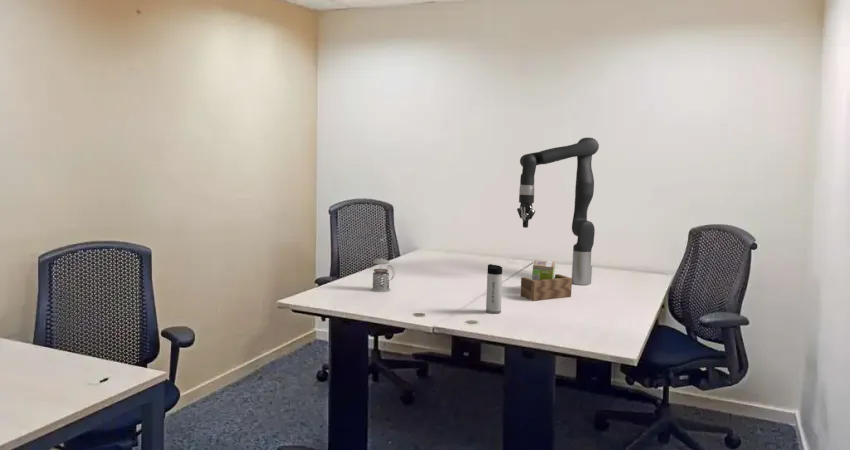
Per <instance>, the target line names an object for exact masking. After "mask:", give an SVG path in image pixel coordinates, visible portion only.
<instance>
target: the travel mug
mask: <svg viewBox="0 0 850 450" xmlns="http://www.w3.org/2000/svg"><path fill="white" fill-rule="evenodd" d="M486 274H487V275H486V276H487V277H486V301H485V308H486V309H485V312H486V313H488V314H491V315H496V314H500V313H501V312H502V293H503V266H501V265H497V264H492V263H489V264H487V273H486Z"/></svg>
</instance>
